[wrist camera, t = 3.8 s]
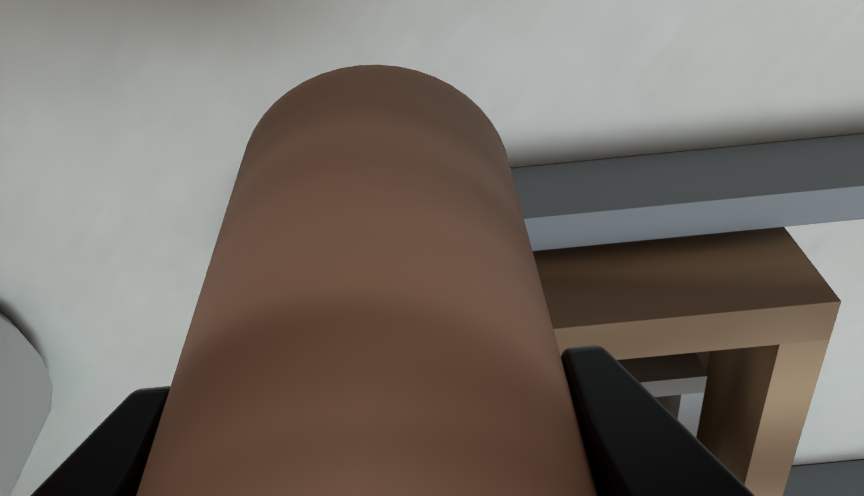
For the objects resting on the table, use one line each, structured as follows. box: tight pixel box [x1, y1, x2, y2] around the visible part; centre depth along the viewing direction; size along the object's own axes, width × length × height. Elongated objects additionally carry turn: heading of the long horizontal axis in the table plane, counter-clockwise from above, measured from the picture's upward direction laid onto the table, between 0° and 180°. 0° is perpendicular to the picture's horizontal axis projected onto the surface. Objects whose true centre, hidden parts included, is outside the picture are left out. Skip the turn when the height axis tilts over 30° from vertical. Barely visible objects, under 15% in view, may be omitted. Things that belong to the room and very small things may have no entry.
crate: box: [533, 227, 841, 496], centre depth 23 cm, size 12×12×4 cm
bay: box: [510, 134, 864, 496], centre depth 23 cm, size 15×27×4 cm, turn 95°
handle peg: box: [136, 65, 598, 496], centre depth 7 cm, size 4×4×10 cm
